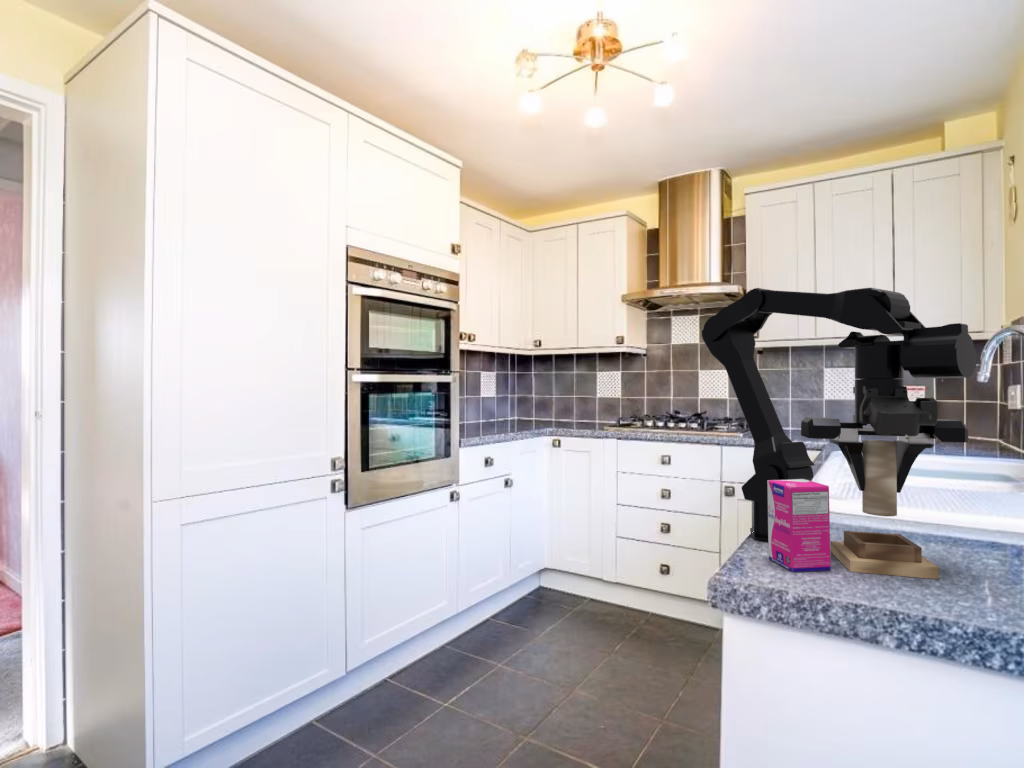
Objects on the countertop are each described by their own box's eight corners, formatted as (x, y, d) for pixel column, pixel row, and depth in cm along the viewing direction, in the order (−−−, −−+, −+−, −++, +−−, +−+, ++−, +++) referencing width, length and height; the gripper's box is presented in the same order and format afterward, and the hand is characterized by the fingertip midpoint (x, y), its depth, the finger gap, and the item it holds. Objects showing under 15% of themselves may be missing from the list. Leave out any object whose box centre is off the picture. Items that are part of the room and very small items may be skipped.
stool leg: (867, 515, 76) (867, 442, 76) (858, 509, 79) (858, 439, 80) (901, 517, 74) (901, 442, 75) (890, 511, 78) (890, 440, 78)
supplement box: (766, 559, 79) (765, 479, 79) (806, 558, 79) (805, 478, 80) (790, 572, 73) (789, 485, 73) (832, 571, 74) (832, 485, 74)
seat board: (850, 571, 73) (849, 545, 74) (830, 551, 83) (830, 527, 83) (939, 579, 70) (938, 551, 71) (908, 557, 80) (908, 532, 80)
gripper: (817, 378, 72) (817, 498, 72) (990, 377, 67) (991, 507, 67) (800, 379, 83) (800, 484, 83) (948, 379, 77) (948, 491, 77)
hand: (879, 491), depth 77 cm, fingers closed on stool leg, 4 cm apart
